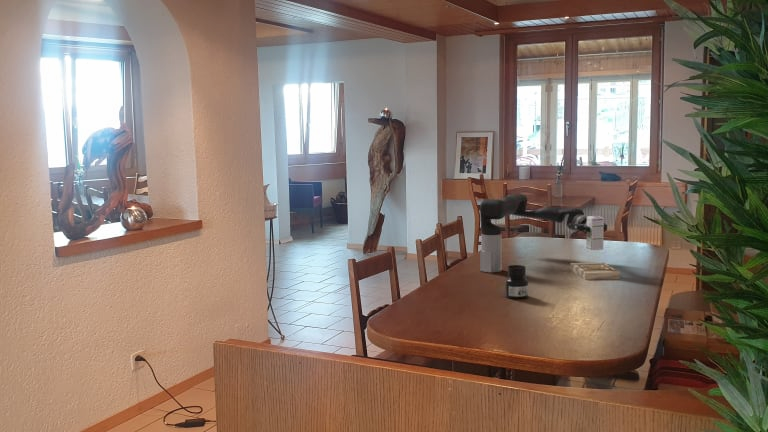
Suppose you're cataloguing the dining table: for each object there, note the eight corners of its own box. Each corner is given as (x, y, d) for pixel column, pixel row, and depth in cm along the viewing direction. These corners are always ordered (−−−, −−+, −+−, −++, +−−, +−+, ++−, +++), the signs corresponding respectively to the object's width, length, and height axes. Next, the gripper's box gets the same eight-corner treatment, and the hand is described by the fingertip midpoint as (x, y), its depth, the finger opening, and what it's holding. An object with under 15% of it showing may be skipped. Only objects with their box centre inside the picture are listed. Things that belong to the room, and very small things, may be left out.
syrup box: (603, 249, 310) (604, 217, 308) (591, 250, 309) (591, 217, 307) (598, 247, 316) (598, 215, 314) (585, 248, 315) (586, 216, 313)
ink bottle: (510, 300, 270) (510, 269, 268) (500, 295, 278) (500, 265, 277) (533, 298, 273) (533, 267, 271) (522, 293, 281) (522, 263, 279)
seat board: (619, 278, 303) (619, 271, 303) (584, 279, 303) (584, 272, 302) (602, 268, 325) (603, 261, 324) (570, 269, 325) (570, 262, 324)
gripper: (600, 231, 326) (612, 237, 309) (569, 232, 326) (580, 238, 309) (600, 215, 325) (613, 220, 308) (569, 216, 325) (580, 221, 308)
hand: (596, 229), depth 309 cm, fingers closed on syrup box, 6 cm apart
